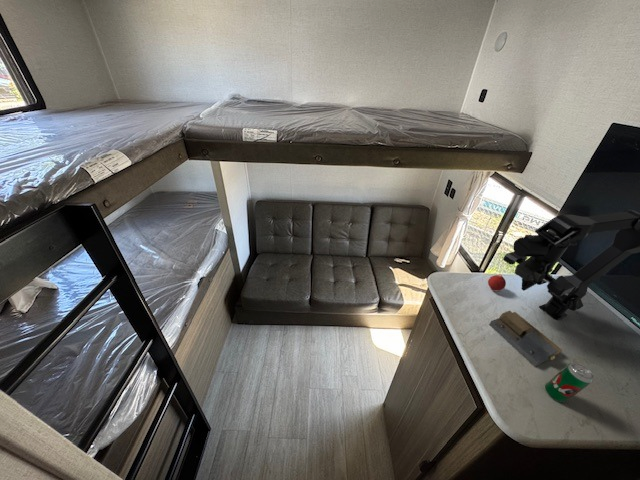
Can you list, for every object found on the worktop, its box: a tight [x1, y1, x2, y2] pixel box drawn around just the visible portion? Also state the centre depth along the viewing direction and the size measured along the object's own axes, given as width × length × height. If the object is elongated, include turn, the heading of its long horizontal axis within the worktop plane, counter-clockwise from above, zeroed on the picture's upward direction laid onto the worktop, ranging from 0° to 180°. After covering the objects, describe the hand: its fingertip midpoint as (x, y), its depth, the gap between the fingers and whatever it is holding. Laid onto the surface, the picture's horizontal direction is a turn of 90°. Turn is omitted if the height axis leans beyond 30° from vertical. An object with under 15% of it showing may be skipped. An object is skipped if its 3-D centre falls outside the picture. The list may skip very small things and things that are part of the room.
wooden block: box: [499, 310, 564, 357], centre depth 84 cm, size 8×16×4 cm, turn 22°
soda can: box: [544, 362, 595, 403], centre depth 67 cm, size 5×5×12 cm
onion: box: [487, 273, 507, 292], centre depth 101 cm, size 6×6×8 cm
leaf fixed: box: [488, 318, 558, 367], centre depth 82 cm, size 7×17×4 cm, turn 22°
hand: (523, 289), depth 87 cm, fingers closed
